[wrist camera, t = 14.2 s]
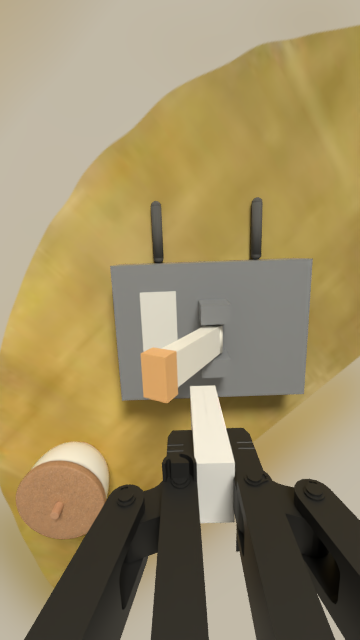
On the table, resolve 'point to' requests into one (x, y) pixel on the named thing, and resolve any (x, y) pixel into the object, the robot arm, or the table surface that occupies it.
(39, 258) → the table surface
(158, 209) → the router antennas
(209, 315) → the breaker box
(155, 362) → the breaker lever
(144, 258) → the table surface
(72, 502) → the lidded jar
